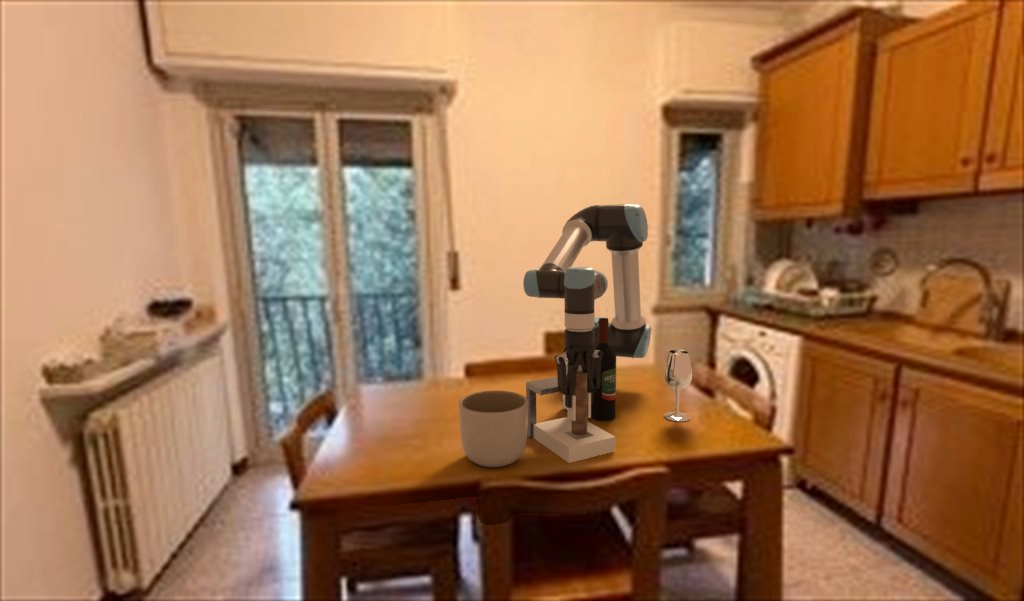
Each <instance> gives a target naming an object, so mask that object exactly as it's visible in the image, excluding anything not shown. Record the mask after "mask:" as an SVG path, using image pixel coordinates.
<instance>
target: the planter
mask: <svg viewBox="0 0 1024 601" xmlns="http://www.w3.org/2000/svg"><path fill="white" fill-rule="evenodd" d="M458 413H459V414H458V415H459V428H460V429H459V431H460V440H461V447H462V450H463V452H464V454H465V456H466V457H467V458H468V459H469V460H470V461H471V462H473V463H474V464H476V465H479V466H481V467H485V468H500V467H505V466H509V465H511V464H513V463H514V462H516V461H517V460H519V459H520V458H521V457H522V455H523V453H524V452H525V449H526V446H527V439H528V437H527V426H528V400H527V398H526V396H524V395H523V394H521V393H518V392H514V391H508V390H483V391H477V392H473V393H470V394H467V395H464V396H463V397H462V398H460V399H459V401H458Z"/></svg>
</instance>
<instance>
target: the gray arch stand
mask: <svg viewBox="0 0 1024 601" xmlns="http://www.w3.org/2000/svg"><path fill="white" fill-rule="evenodd" d="M566 377H567V375H566ZM525 392H526V394H525V397H526V398H527V400H528V426H527V438H529V439H530V440H531V439H534V438H533V424H536V423H538V422H537V395H539V396H545V395H551V394H556V393H559V392H558V379H557V376H555V377H554V376H553V377H548V378H542V379H536V380H530V381H526V382H525Z"/></svg>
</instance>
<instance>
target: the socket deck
mask: <svg viewBox="0 0 1024 601" xmlns="http://www.w3.org/2000/svg"><path fill="white" fill-rule="evenodd" d="M532 439H534V440H536V441H537V442H539V443H540V444H541V445H543V447H545V448H547V449H549V450H550V451H551V452H552V453H554V454H556V455H557V457H560V458H561V459H562V460H563V461H565V462H567V464H571V463H574V462H579V461H584V460H588V459H590V458H591V457H592V458H594V457H595V456H596V457H599V456H598V455H600V456H602V454H604V455H606V454H605V453H608V454H610V453H609V452H612V453H614V452H613V451H615V452H616V436H615V435H613V434H611V433H609V432H607V431H606V430H604V429H603V428H601V427H598V426H596V425H595V424H593V423H591V422H589V421H588V420H587V434H585V435H574V434H572V420H571V419H569V418H567V416H565V417H561V418H555V419H551V420H546V421H541V422H537V423H536V424H533V438H532Z"/></svg>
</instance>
